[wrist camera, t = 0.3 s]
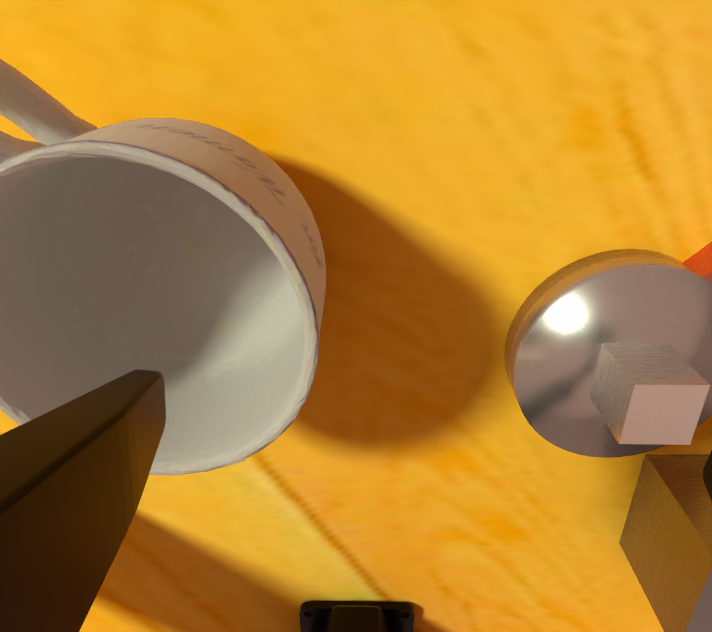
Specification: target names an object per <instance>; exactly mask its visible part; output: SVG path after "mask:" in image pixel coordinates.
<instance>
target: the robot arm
mask: <svg viewBox="0 0 712 632" xmlns="http://www.w3.org/2000/svg"><path fill="white" fill-rule="evenodd" d="M165 423H166V401H165V381H164V377H163V374H162V373H161V372H159V371H150V370H141V369H136V370H133V371H131V372H129V373H127V374H125V375H123V376H120V377H118V378H116V379H114V380H112V381H110V382H108V383H106V384H104V385H102V386H100V387H98V388H96V389H94V390H92V391H90V392H88V393H86V394H84V395H82V396H80V397H77V398H75V399H73V400H71V401H69V402H67V403H65V404H63V405H61V406H59V407H57V408H55V409H53V410H51V411H49V412H47V413H45V414H43V415H41V416H39V417H36V418H34V419H32V420H30V421H28V422H26V423H24V424H22V425H20V426H18V427H16V428H14V429H12V430H10V431H8V432H6V433H4V434H2V435H0V632H79V631H80V628H81V626H82V624H83V622H84V620H85V618H86V616H87V614H88V612H89V610H90V608H91V606H92V604H93V601H94V599H95V597H96V595H97V593H98V591H99V589H100V587H101V585H102V583H103V581H104V579H105V576H106V574H107V572H108V570H109V568H110V566H111V564H112V562H113V560H114V558H115V556H116V554H117V552H118V549H119V547H120V545H121V543H122V541H123V539H124V537H125V535H126V533H127V531H128V529H129V526H130V524H131V522H132V520H133V517H134V515H135V513H136V510H137V507H138V504H139V502H140V499H141V496H142V493H143V490H144V487H145V484H146V481H147V478H148V475H149V473H150V470H151V467H152V464H153V461H154V458H155V455H156V452H157V449H158V446H159V443H160V440H161V437H162V435H163V432H164V428H165ZM702 478H703V483H704V485H705V488H706V490H707V493H708V495H709V497H710V500H711V502H712V451H711V453H710V455H709V457H708V459H707V461H706V463H705V465H704V467H703V472H702ZM413 623H414V609H413V606H412V605H410V604H407V603H357V602H305V603H303V604H302V605H301V607H300V625H301V632H413Z"/></svg>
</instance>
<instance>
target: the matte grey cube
mask: <svg viewBox="0 0 712 632" xmlns="http://www.w3.org/2000/svg"><path fill="white" fill-rule="evenodd" d="M708 457H709V456H698V455H646V456H645V459H644V463H643V466H642V470H641V473H640V476H639V480H638V483H637V486H636V490H635V493H634V496H633V500H632V503H631V507H630V510H629V513H628V517H627V520H626V523H625V527H624V530H623V534H622V537H621V540H620V545H621V547H622V549H623V551H624V553H625V555H626V557H627V559H628V561H629V563H630V565H631V567H632V569H633V571H634V573H635V575H636V577H637V579H638V581H639V583H640V584H641V586H642V588H643V590H644V592H645V594H646V596H647V598H648V600H649V602H650V604H651V606H652V608H653V610H654V612H655V614H656V616H657V618H658V620H659V622H660V624H661V626H662V628H663V630H664V632H712V502H711V500H710V497H709V495H708V493H707V490H706V488H705V485H704V483H703V478H702V472H703V467H704V465H705V463H706V461H707V459H708Z"/></svg>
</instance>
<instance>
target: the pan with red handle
mask: <svg viewBox="0 0 712 632" xmlns="http://www.w3.org/2000/svg"><path fill="white" fill-rule="evenodd" d="M505 366H506V371H507V375H508V379H509V381H510V384H511V386H512V389H513V391H514V393H515V396H516V398H517V400H518V403H519V405H520V407H521V410H522V412H523V414H524V416H525V418H526V419H527V421H528V422H529V424H530V425H531V426H532V427H533V428H534V429H535V431H536V432H537V433H538V434H540V435H541V436H542V437H543V438H544V439H546V440H547V441H549V442H550V443H552V444H554V445H555V446H557V447H560V448H562V449H564V450H567V451H569V452H573V453H576V454H580V455H585V456H591V457H622V456H630V455H635V454H639V453H644V452H647V451H650V450H653V449H656V448H659V447H662V446H664V445H690V444H691V441H692V438H693V435H694V432H695V429H696V427H697V426H699V425H700V424H701V423H702V422H703V421H705V420H706V419H707V418H708V417H709V416H710V415H711V414H712V242H711V243H709V244H708V245H707V246H705V247H704V248H703V249H701V250H700V251H699V252H697V253H696V254H694V255H693V256H692V257H690V258H689V259H688V260H686V261H685V262H684V263H682V262H680V261H678V260H676V259H674V258H673V257H670V256H667V255H664V254H662V253H658V252H653V251H648V250H639V249H622V250H612V251H607V252H601V253H598V254H594V255H591V256H587V257H585V258H582V259H580V260H578V261H575V262H573V263H571V264H569V265H567V266H565V267H564V268H562V269H560V270H558V271H557V272H556V273H554V274H553V275H551V276H550V277H548V278H547V279H546V280H545V281H544V282H542V283H541V284H540V285H539V286H538V287H537V288H536V289H535V290H534V291H533V292H532V293H531V294H530V295H529V297H528V298H527V299H526V300H525V302H524V303H523V304H522V306H521V307H520V309H519V310H518V312H517V314H516V316H515V318H514V320H513V322H512V324H511V327H510V330H509V332H508V336H507V340H506V345H505Z"/></svg>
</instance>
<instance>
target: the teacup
mask: <svg viewBox="0 0 712 632" xmlns="http://www.w3.org/2000/svg"><path fill="white" fill-rule="evenodd" d="M0 114H1V115H3V116H4V117H6V118H7V119H9V120H10V121H12V122H13V123H15V124H16V125H17V126H19V127H20V128H21V129H23V130H24V131H26V132H27V133H28V134H29V135H31V136H32V137H33V138H34V139H36V140H37V141H38V142H31V141H24V140H21V139H18V138H15V137H12V136H10V135H8V134H6V133H4V132H2V131H0V409H1V410H2V411H3V412H4V413H5V414H6V415H7V416H9V417H10V418H11V419H12V420H14V421H15V422H16V423H17V424H18V425H22V424H24V423H26V422H28V421H30V420H32V419H34V418H36V417H39V416H41V415H43V414H45V413H47V412H49V411H51V410H53V409H55V408H57V407H59V406H61V405H63V404H65V403H67V402H69V401H71V400H73V399H75V398H77V397H80V396H82V395H84V394H86V393H88V392H90V391H92V390H94V389H96V388H98V387H100V386H102V385H104V384H106V383H108V382H110V381H112V380H114V379H116V378H118V377H120V376H123V375H125V374H127V373H129V372H131V371H133V370H136V369H141V370H150V371H159V372H161V373H162V374H163V377H164V381H165V401H166V423H165V428H164V432H163V435H162V437H161V440H160V443H159V446H158V449H157V452H156V455H155V458H154V461H153V464H152V467H151V470H150V473H149V475H180V474H189V473H198V472H207V471H210V470H214V469H217V468H221V467H224V466H228V465H232V464H235V463H238V462H241V461H244V460H245V459H246V458H247V457H249V456H251V455H253V454H255V453H257V452H258V451H260V450H262V449H263V448H265V447H266V446H268V445H269V444H270V443H272V442H273V441H274V440H275V439H277V438H278V437H279V436H280V435H281V434H282V433H283V432H284V431H285V430H286V429H287V428H288V427H289V426H290V425H291V424H292V422H293V421H294V420H295V419H296V417H297V415H298V414H299V412H300V410H301V409H302V407H303V405H304V403H305V401H306V399H307V396H308V394H309V392H310V390H311V387H312V384H313V381H314V378H315V373H316V368H317V364H318V357H319V345H320V337H319V334H320V329H321V324H322V318H323V311H324V303H325V293H326V263H325V253H324V248H323V244H322V239H321V236H320V232H319V229H318V226H317V224H316V221H315V219H314V216H313V214H312V212H311V210H310V208H309V206H308V204H307V202H306V200H305V199H304V197H303V195H302V194H301V192H300V191H299V190H298V188H297V187H296V186H295V184H294V183H293V181H292V180H291V179H290V178H289V176H288V175H287V174H286V173H285V172H284V171H283V170H282V169H281V168H280V167H279V166H278V165H277V164H276V163H275V162H274V161H273V160H272V159H270V158H269V157H268V156H266V155H265V154H264V153H263V152H261V151H260V150H259V149H257V148H256V147H254V146H253V145H251V144H250V143H248V142H246V141H245V140H243V139H241V138H239V137H237V136H235V135H233V134H231V133H229V132H227V131H224V130H222V129H219V128H216V127H214V126H211V125H208V124H203V123H199V122H194V121H189V120H182V119H175V118H146V119H137V120H129V121H125V122H121V123H117V124H113V125H109V126H105V127H102V128H99V129H98V128H97V127H96V126H94V125H92V124H90V123H88V122H87V121H85V120H83V119H81V118H79V117H77V116H75V115H74V114H73V113H72V112H71V111H69V110H68V109H67V108H66V107H65V106H63V105H62V104H61V103H60V102H59V101H57V100H56V99H55V98H54V97H52V96H51V95H50V94H48V93H47V92H46V91H44V90H43V89H42V88H41V87H39V86H38V85H37V84H35V83H34V82H33V81H31V80H30V79H29V78H27V77H26V76H25V75H23V74H22V73H21V72H19V71H18V70H17V69H15V68H14V67H12V66H11V65H9V64H7V63H6V62H4V61H3V60H1V59H0ZM39 142H40V143H39Z"/></svg>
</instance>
